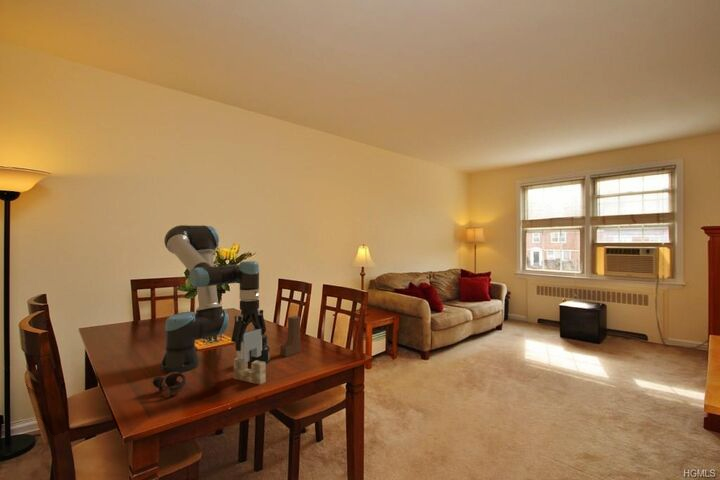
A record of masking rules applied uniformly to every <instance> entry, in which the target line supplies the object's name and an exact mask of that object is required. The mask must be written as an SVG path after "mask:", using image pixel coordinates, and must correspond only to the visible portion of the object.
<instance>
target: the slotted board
mask: <svg viewBox="0 0 720 480" xmlns="http://www.w3.org/2000/svg"><path fill="white" fill-rule="evenodd" d="M248 362H249V361H248ZM248 362H245V363H240V362H238V358H237V357H236V358H234V359H233V379H235V380H239V381H244V382H246V383H247V382H248V383H250V384H251V383H252V384H254V385H260V386H261V385H263V384H265V383H266V381H267V380H266V377H267V376H266V371H267V370H266V367H267V366H266V365H267V363H266V362H262V361H257V360H256V361H254V362H252V363H251V364H250V365H251V368H248Z"/></svg>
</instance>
